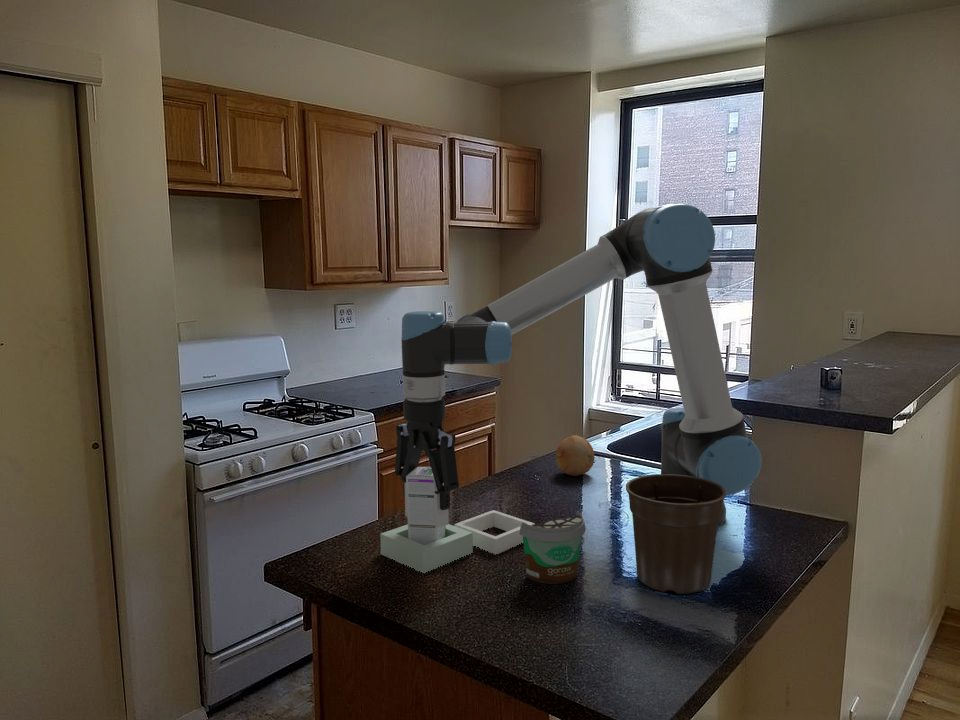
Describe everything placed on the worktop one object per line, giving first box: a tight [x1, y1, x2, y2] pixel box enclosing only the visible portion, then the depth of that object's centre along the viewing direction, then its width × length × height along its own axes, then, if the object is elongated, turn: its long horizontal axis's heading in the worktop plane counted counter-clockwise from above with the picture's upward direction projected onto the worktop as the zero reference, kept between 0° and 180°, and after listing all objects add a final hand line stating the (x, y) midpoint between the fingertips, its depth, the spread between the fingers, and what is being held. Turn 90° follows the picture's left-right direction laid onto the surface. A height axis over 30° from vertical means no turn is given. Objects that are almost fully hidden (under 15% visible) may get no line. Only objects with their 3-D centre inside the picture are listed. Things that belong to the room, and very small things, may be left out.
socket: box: [379, 523, 474, 574], centre depth 135 cm, size 12×12×4 cm
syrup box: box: [406, 466, 446, 545], centre depth 134 cm, size 6×6×14 cm
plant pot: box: [625, 473, 727, 595], centre depth 123 cm, size 16×16×16 cm
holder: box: [453, 509, 536, 556], centre depth 142 cm, size 11×11×3 cm
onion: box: [555, 434, 595, 477], centre depth 182 cm, size 10×10×10 cm
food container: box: [519, 510, 587, 585], centre depth 124 cm, size 12×6×10 cm, turn 117°
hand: (426, 519), depth 134 cm, fingers closed on syrup box, 7 cm apart
